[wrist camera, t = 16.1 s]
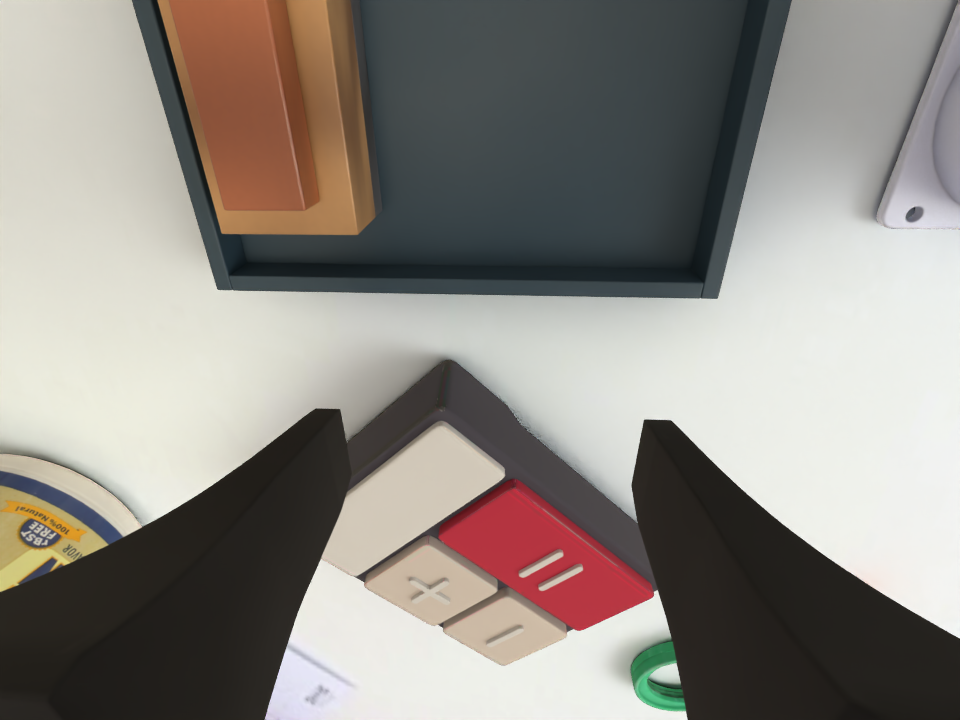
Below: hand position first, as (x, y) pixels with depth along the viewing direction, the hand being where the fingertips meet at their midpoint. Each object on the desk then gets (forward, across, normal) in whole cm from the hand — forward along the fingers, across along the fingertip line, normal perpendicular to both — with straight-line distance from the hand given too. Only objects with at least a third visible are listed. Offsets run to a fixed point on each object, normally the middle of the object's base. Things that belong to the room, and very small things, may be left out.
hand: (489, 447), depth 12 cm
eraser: (+9, +7, -8) cm, 13 cm away
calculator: (+10, +1, +12) cm, 15 cm away
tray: (+9, +2, -8) cm, 12 cm away
